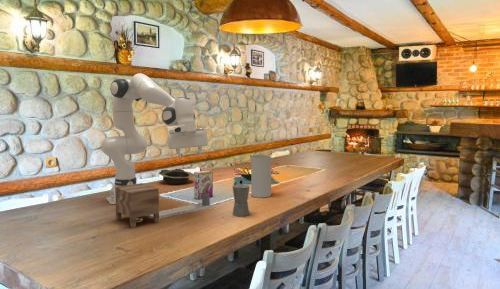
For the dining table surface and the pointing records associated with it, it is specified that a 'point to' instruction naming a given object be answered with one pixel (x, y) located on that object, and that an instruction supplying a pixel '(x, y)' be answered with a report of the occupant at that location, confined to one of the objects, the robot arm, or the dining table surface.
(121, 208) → the walnut cabinet
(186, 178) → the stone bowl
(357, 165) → the dining table surface
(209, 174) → the candy bar box
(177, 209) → the grey long bar
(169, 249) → the dining table surface
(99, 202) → the dining table surface
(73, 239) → the dining table surface
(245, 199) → the coffeepot
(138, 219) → the brass token
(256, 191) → the cylinder vase
